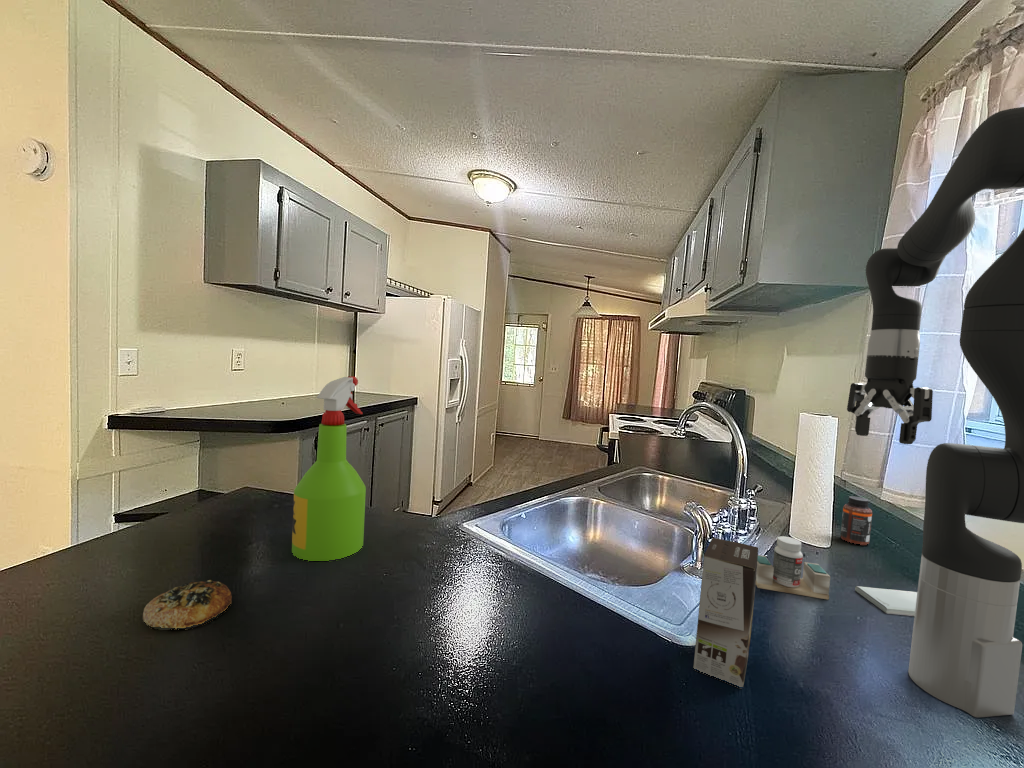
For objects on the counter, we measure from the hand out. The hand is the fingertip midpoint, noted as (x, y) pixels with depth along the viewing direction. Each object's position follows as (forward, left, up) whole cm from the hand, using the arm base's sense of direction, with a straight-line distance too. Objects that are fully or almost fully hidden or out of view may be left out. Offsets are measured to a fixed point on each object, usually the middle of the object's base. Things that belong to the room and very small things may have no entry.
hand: (883, 439), depth 86 cm
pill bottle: (+3, +15, -30) cm, 33 cm away
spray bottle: (+25, +104, -30) cm, 111 cm away
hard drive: (-5, -3, -31) cm, 31 cm away
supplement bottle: (+24, -23, -30) cm, 45 cm away
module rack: (+3, +15, -30) cm, 34 cm away
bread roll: (0, +119, -31) cm, 123 cm away
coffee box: (-17, +43, -30) cm, 55 cm away
